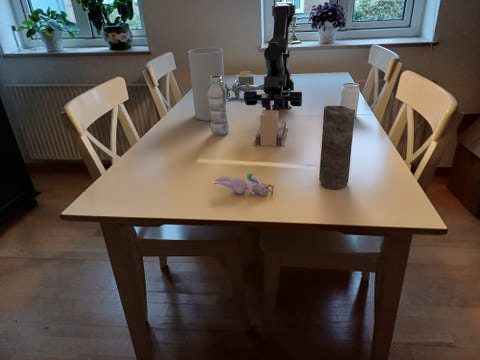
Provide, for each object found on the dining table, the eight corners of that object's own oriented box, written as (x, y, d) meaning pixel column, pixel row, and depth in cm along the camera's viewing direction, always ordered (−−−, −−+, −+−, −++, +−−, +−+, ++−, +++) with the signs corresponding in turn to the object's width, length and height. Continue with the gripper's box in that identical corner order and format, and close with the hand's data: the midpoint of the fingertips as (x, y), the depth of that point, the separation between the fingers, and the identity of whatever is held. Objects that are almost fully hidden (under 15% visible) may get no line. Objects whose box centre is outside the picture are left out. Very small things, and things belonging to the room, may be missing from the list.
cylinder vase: (232, 114, 141) (229, 49, 129) (210, 123, 133) (204, 54, 121) (211, 109, 149) (206, 46, 136) (188, 117, 141) (181, 51, 129)
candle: (315, 176, 94) (320, 103, 84) (341, 174, 94) (350, 101, 85) (323, 191, 87) (330, 113, 78) (352, 189, 88) (362, 111, 78)
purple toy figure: (272, 191, 91) (216, 181, 92) (276, 172, 88) (218, 161, 89) (271, 205, 86) (210, 194, 86) (275, 184, 82) (212, 173, 83)
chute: (260, 129, 126) (260, 119, 124) (288, 130, 124) (288, 120, 122) (252, 147, 112) (252, 136, 110) (284, 149, 110) (284, 137, 108)
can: (357, 119, 131) (361, 87, 125) (339, 118, 132) (342, 87, 126) (355, 113, 136) (359, 82, 130) (338, 113, 138) (341, 82, 132)
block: (262, 139, 116) (262, 110, 111) (278, 140, 115) (278, 110, 110) (260, 145, 112) (260, 115, 107) (276, 146, 111) (276, 115, 106)
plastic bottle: (232, 132, 125) (229, 74, 115) (225, 139, 119) (221, 79, 109) (215, 130, 127) (210, 74, 117) (207, 137, 121) (202, 79, 111)
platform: (232, 81, 191) (231, 69, 188) (265, 81, 187) (265, 69, 184) (227, 87, 181) (226, 74, 178) (261, 87, 177) (261, 74, 174)
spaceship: (271, 84, 150) (274, 73, 154) (197, 89, 162) (203, 78, 166) (274, 99, 155) (278, 88, 160) (203, 102, 168) (208, 92, 172)
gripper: (243, 64, 111) (237, 109, 107) (303, 64, 107) (299, 111, 103) (248, 83, 121) (243, 125, 117) (303, 84, 118) (300, 127, 114)
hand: (270, 122), depth 113 cm, fingers closed, pressing on block
